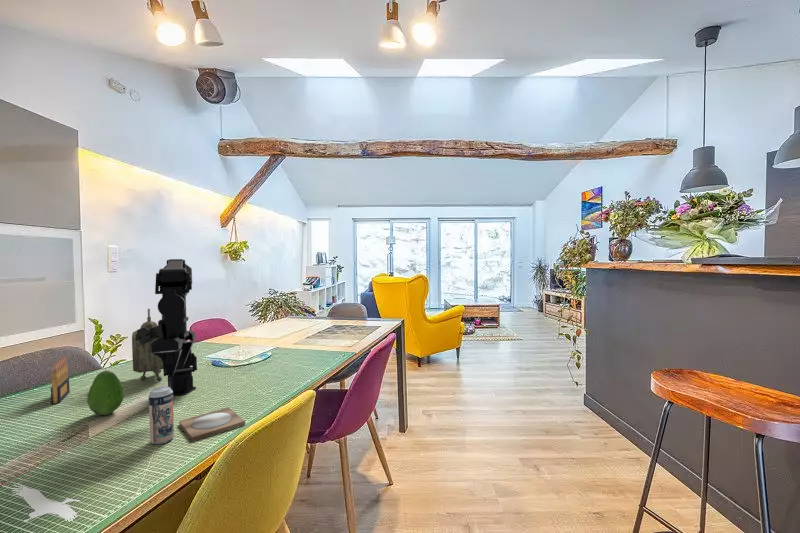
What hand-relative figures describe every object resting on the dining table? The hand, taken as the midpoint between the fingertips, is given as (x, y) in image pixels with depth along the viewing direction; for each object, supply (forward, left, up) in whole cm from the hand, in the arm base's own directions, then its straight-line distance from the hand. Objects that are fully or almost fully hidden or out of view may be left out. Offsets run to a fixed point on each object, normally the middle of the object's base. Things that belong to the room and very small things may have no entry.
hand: (175, 372), depth 99 cm
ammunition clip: (-46, +4, -12) cm, 48 cm away
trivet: (+14, -4, -12) cm, 18 cm away
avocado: (-20, -3, -12) cm, 24 cm away
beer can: (+8, -13, -12) cm, 19 cm away
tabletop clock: (-34, +24, -12) cm, 44 cm away
